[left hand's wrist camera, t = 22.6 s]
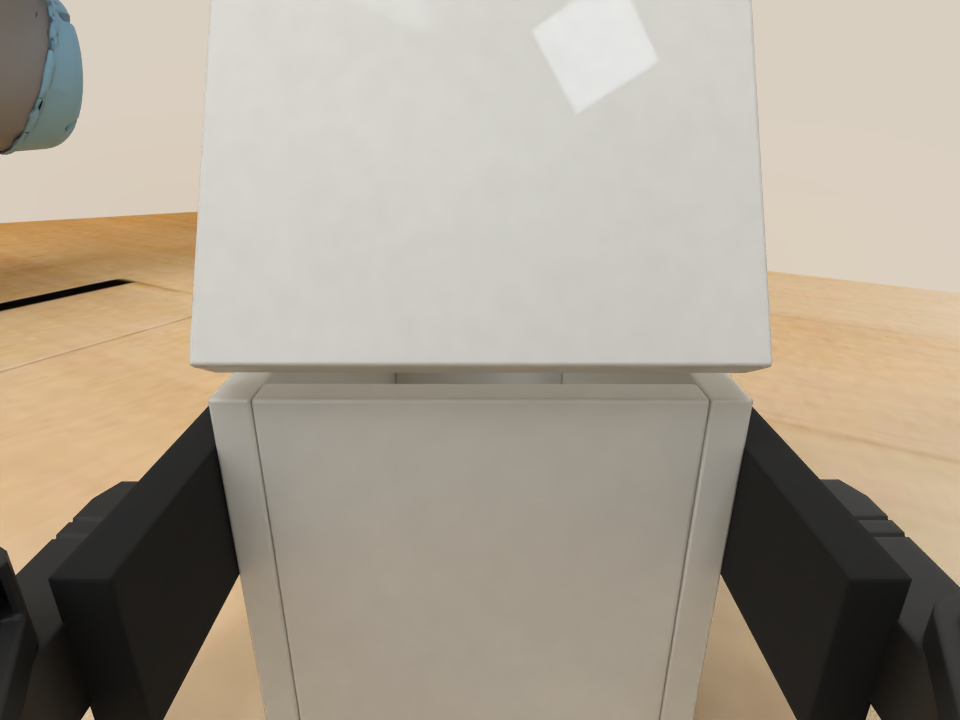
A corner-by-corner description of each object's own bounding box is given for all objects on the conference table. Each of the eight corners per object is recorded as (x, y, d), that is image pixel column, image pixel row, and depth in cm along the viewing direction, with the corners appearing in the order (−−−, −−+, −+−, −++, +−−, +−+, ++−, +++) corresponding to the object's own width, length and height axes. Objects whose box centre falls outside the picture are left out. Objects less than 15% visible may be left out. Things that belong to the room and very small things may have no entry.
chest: (385, 419, 29) (372, 223, 26) (572, 419, 29) (585, 223, 26) (275, 779, 13) (206, 399, 10) (683, 779, 13) (755, 400, 10)
